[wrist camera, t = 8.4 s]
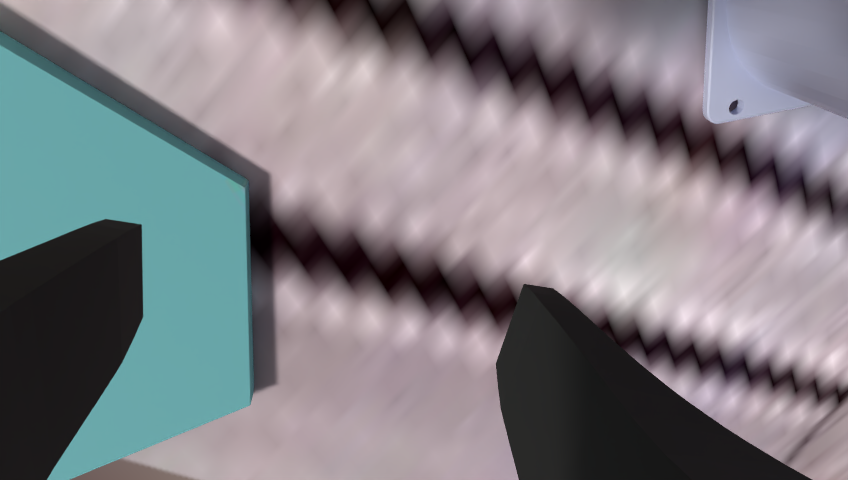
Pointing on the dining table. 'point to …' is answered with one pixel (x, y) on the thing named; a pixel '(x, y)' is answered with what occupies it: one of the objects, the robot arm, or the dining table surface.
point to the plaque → (161, 249)
